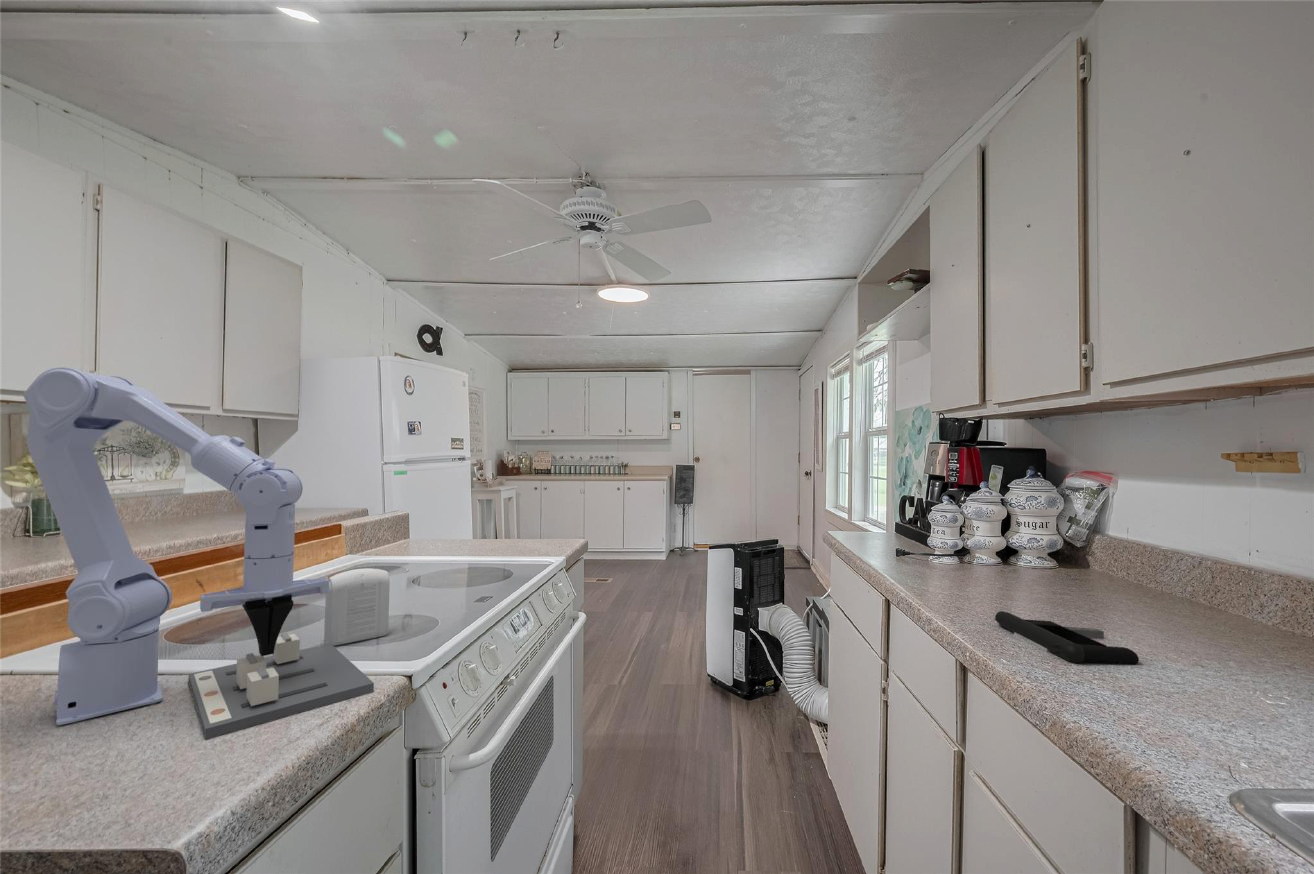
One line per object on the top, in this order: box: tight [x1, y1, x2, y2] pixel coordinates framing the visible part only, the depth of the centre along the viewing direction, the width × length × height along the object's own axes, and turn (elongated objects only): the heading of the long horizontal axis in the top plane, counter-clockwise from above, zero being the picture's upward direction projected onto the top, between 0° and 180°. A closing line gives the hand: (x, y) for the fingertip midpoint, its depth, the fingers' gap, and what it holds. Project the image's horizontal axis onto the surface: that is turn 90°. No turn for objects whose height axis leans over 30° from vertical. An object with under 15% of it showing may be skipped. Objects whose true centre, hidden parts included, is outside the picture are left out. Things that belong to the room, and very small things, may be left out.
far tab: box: [271, 632, 301, 664], centre depth 83 cm, size 3×4×3 cm
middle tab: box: [236, 652, 266, 689], centre depth 74 cm, size 3×4×3 cm
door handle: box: [993, 610, 1140, 665], centre depth 95 cm, size 3×20×16 cm
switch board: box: [188, 644, 375, 740], centre depth 77 cm, size 18×22×1 cm
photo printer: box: [323, 567, 391, 647], centre depth 97 cm, size 10×4×12 cm, turn 134°
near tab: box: [246, 667, 279, 706], centre depth 70 cm, size 3×4×3 cm
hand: (266, 653), depth 76 cm, fingers closed
